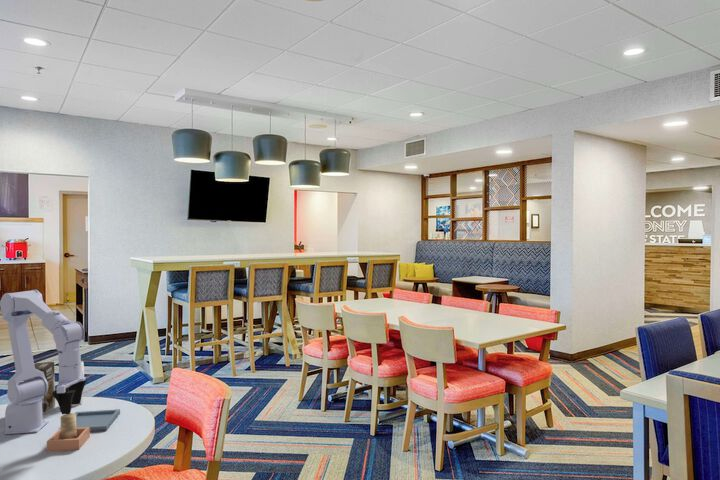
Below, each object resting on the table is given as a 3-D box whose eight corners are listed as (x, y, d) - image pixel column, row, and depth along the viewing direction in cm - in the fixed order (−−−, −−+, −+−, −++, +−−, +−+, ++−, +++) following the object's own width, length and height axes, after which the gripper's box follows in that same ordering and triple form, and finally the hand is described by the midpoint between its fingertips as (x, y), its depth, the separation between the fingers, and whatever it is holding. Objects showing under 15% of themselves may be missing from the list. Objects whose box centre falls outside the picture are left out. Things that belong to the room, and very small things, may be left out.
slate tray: (58, 433, 157) (58, 429, 157) (76, 416, 171) (76, 411, 171) (106, 430, 159) (106, 426, 159) (120, 413, 173) (120, 409, 173)
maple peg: (59, 447, 148) (58, 419, 147) (64, 441, 152) (63, 413, 151) (73, 446, 148) (72, 418, 148) (78, 440, 152) (78, 413, 152)
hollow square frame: (47, 451, 145) (46, 441, 145) (59, 438, 154) (59, 429, 153) (79, 449, 147) (78, 439, 146) (89, 436, 155) (89, 427, 155)
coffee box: (44, 415, 171) (43, 369, 171) (24, 416, 170) (22, 369, 170) (56, 405, 180) (55, 361, 180) (36, 406, 179) (35, 362, 179)
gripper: (75, 370, 143) (76, 417, 144) (92, 356, 158) (93, 399, 158) (48, 371, 142) (49, 419, 143) (68, 357, 156) (69, 400, 157)
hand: (71, 408), depth 150 cm, fingers open, 7 cm apart
